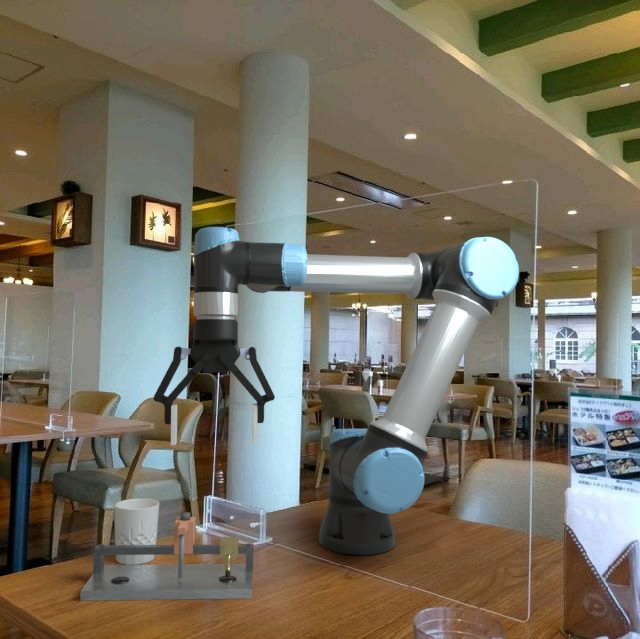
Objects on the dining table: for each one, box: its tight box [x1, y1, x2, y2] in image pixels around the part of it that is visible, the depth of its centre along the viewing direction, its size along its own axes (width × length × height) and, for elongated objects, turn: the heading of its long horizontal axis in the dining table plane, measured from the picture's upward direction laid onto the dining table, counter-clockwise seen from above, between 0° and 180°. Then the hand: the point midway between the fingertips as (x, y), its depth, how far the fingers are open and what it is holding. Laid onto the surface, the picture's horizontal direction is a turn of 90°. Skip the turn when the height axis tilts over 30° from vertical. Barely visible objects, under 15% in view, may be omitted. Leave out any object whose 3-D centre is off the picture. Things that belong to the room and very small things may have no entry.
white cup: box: [114, 497, 160, 565], centre depth 114 cm, size 8×8×10 cm
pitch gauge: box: [79, 536, 255, 602], centre depth 102 cm, size 26×11×7 cm, turn 95°
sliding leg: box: [173, 511, 196, 578], centre depth 103 cm, size 3×7×9 cm, turn 5°
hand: (214, 443), depth 106 cm, fingers open, 13 cm apart
